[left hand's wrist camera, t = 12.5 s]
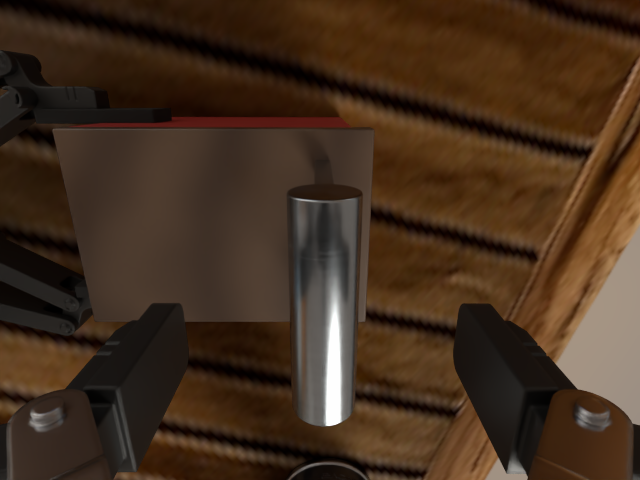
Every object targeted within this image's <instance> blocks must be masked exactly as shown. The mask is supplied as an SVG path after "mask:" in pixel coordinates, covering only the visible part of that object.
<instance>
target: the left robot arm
mask: <svg viewBox="0 0 640 480" xmlns="http://www.w3.org/2000/svg"><path fill="white" fill-rule="evenodd" d="M188 358H189V349H188V341H187V334H186V326H185V319H184V312H183V307H182V305H181V304H180V303H152V304H151V305H150V306H149V307H148V309H147V310H146V311H145V312H144V313H143V315H142V316H141V317H140V318H139V320H132V321H130V322H129V323H127V324H126V325H124V326H122V327H121V328H119V329H118V330H116V331H115V332H114V333H113V334H112V336H111V337H110V338H109V339H108V340H107V341H106V343H105V345H103V346H102V347H101V348H100V349H99V351H98V352H97V355H94V356H93V357H92V359H91V360H90V361H89V362H88V363H87V364H86V366H85V367H84V368H83V369H82V370H81V371H80V372H79V374H78V375H77V376H76V377H75V378H74V379H73V380H72V382H71V383H70V384H69V385H68V386H67V387H66V389H63V390H57V391H53V392H50V393H47V394H44V395H42V396H39V397H37V398H35V399H33V400H31V401H30V402H28V403H27V404H25V405H24V406H22V407H21V408H20V409H19V410H18V411H16V413H15V414H14V415H13V416H12V417H11V419H10V420H9V422H8V423H6V424H2V425H0V480H113V479H114V477H115V475H116V473H117V472H137V470H138V468H139V466H140V464H141V461H142V459H143V457H144V455H145V453H146V451H147V449H148V447H149V445H150V443H151V441H152V439H153V437H154V435H155V433H156V431H157V429H158V427H159V425H160V423H161V421H162V418H163V416H164V414H165V412H166V410H167V408H168V406H169V404H170V402H171V400H172V398H173V396H174V394H175V392H176V390H177V388H178V386H179V384H180V382H181V380H182V378H183V375H184V373H185V371H186V368H187V365H188ZM453 359H454V365H455V369H456V372H457V374H458V376H459V378H460V380H461V382H462V384H463V386H464V388H465V390H466V392H467V394H468V396H469V398H470V400H471V402H472V404H473V406H474V409H475V411H476V413H477V415H478V417H479V419H480V421H481V423H482V425H483V427H484V429H485V431H486V433H487V435H488V437H489V439H490V441H491V443H492V445H493V447H494V449H495V451H496V453H497V455H498V457H499V459H500V461H501V463H502V465H503V467H504V469H505V471H506V473H507V474H527V476H528V479H527V480H640V425H636V424H632V422H631V420H630V419H629V417H628V416H627V415H626V414H625V413H624V411H622V410H621V409H620V408H619V407H618V406H616V405H615V404H613V403H612V402H610V401H609V400H607V399H605V398H603V397H601V396H598V395H596V394H593V393H590V392H587V391H583V390H578V389H577V388H576V387H575V386H574V385H573V384H572V382H571V381H570V380H569V379H568V378H567V377H566V376H565V375H564V373H563V372H562V371H561V370H560V369H559V368H558V367H557V365H556V364H555V363H554V362H553V361H552V360H551V359H550V357H549V356H546V353H545V352H544V351H543V349H542V348H541V347H540V346H537V343H536V341H535V340H534V339H533V338H532V337H531V336H530V335H529V333H528V332H527V331H525V330H524V329H522V328H520V327H519V326H517V325H516V324H514V323H513V322H511V321H504V320H503V319H502V317H501V316H500V315H499V314H498V312H497V311H496V310H495V309H494V308H493V306H492V305H491V304H462V305H461V306H460V308H459V313H458V320H457V327H456V335H455V342H454V349H453ZM286 480H370V479H369V477H368V476H367V474H366V473H365V472H364V471H363V470H362V469H361V468H359V467H358V466H356V465H354V464H352V463H350V462H348V461H344V460H340V459H334V458H322V459H315V460H311V461H308V462H306V463H303V464H302V465H300V466H298V467H297V468H295V469H294V470H293V471H292V472H291V473H290V474H289V475H288V477H287V478H286Z"/></svg>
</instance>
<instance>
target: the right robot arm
mask: <svg viewBox="0 0 640 480" xmlns="http://www.w3.org/2000/svg"><path fill="white" fill-rule="evenodd" d="M40 72H41V64H40V62H39V60H38V59H37V58H36V57H35V56H33V55H29V54H23V53H16V52H10V51H3V50H0V89H1V88H2V89H3V90H8V91H7V92H6V93H5V94H3V95H2V96H1V97H0V146H2V145H3V144H5V143H6V142H7V141H9V140H10V139H12V138H13V137H15V136H16V135H17V134H19V133H20V132H22V131H23V130H25V129H26V128H27V127H29V126H30V125H32V124H33V123H34V122H36V123H78V124H97V123H159V122H166V121H172V116H171V108H110V106H109V100H108V94H107V91H106V90H103V89H101V88H98V87H54V86H51V85H50V84H48V83H47V82H46V81H45V80H44V78H43V77H42V75H41V73H40ZM2 281H3V282H2ZM92 315H93V311H92V307H91V302H90V298H89V293H88V289H87V284H86V280H85V277H84V276H82V275H80V274H78V273H76V272H74V271H72V270H70V269H68V268H65V267H63V266H61V265H59V264H57V263H55V262H53V261H51V260H49V259H46V258H44V257H42V256H40V255H38V254H36V253H34V252H32V251H30V250H28V249H25V248H23V247H21V246H19V245H17V244H15V243H13V242H11V241H9V240H7V239H6V235H5V234H4V233H2V232H0V320H3V321H8V322H12V323H16V324H20V325H24V326H28V327H33V328H37V329H41V330H45V331H49V332H53V333H58V334H62V335H72V334H73V333H74V332H75V331H76V330H77V329H78V328H79V327H80V326H81V325H82V324H83V323H85V322H86V321H87V320H88V319H89V318H90V317H91V316H92Z"/></svg>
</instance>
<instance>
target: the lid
mask: <svg viewBox="0 0 640 480" xmlns="http://www.w3.org/2000/svg"><path fill="white" fill-rule="evenodd" d="M53 135H54V139H55V144H56V148H57V153H58V157H59V162H60V166H61V171H62V176H63V180H64V185H65V189H66V194H67V198H68V203H69V207H70V212H71V216H72V221H73V225H74V230H75V234H76V239H77V243H78V248H79V253H80V257H81V262H82V266H83V271H84V275H85V280H86V284H87V289H88V293H89V298H90V302H91V307H92V311H93V316H94V320H95V321H96V322H130V321H132V320H139V318H140V317H141V316H142V315H143V313H144V312H145V311H146V310H147V309H148V307H149V306H150V305H151V304H152V303H180V304H181V305H182V307H183V312H184V319H185V322H290V343H291V378H292V406H293V409H294V411H295V413H296V414H297V416H298V417H299V418H300V419H301V420H303V421H304V422H306V423H309V424H311V425H315V426H333V425H336V424H339V423H341V422H343V421H345V420H346V419H347V418H348V417H349V416H350V415H351V413H352V412H353V410H354V406H355V387H356V362H357V336H358V322H365V320H366V300H367V279H368V257H369V236H370V215H371V193H372V172H373V150H374V129H372V128H370V127H61V128H54V129H53Z"/></svg>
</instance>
